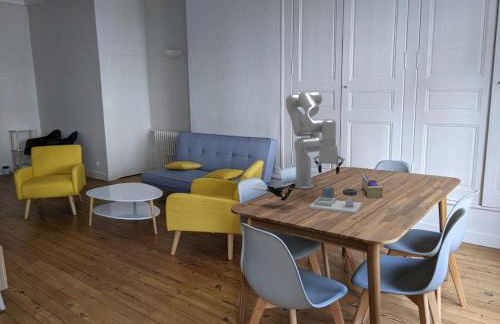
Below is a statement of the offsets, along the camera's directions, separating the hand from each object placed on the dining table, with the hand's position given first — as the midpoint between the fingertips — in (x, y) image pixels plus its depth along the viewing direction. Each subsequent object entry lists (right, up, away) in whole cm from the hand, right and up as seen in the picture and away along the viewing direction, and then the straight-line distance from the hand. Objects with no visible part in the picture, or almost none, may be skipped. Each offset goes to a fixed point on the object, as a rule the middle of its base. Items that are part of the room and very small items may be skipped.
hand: (328, 173), depth 214 cm
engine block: (0, -15, +3) cm, 15 cm away
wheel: (+8, -10, -16) cm, 21 cm away
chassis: (+1, -17, -12) cm, 21 cm away
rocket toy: (-32, -18, -8) cm, 38 cm away
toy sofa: (+28, -13, +13) cm, 34 cm away
